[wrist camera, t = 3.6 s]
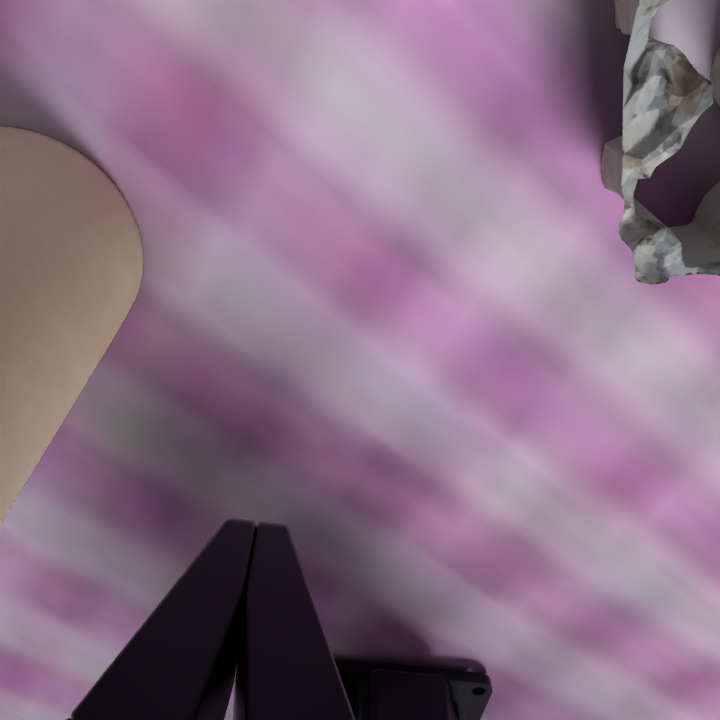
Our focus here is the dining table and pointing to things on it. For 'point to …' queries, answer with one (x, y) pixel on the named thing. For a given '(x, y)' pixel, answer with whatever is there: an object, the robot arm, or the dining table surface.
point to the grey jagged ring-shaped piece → (660, 148)
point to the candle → (55, 290)
